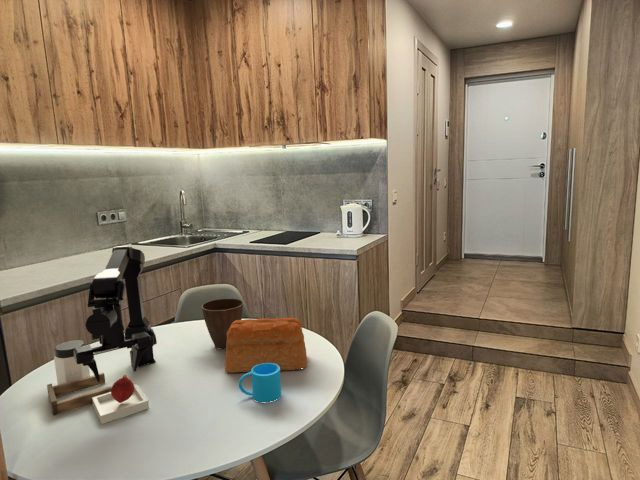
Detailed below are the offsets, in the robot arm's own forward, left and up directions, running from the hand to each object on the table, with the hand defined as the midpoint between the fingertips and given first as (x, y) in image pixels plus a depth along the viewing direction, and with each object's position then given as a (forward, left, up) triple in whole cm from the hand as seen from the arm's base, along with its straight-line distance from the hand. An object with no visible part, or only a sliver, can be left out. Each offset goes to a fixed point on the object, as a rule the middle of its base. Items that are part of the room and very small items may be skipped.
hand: (117, 376), depth 119 cm
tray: (0, 0, -9) cm, 9 cm away
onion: (0, 0, -8) cm, 8 cm away
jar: (+8, -26, -9) cm, 29 cm away
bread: (-45, +2, -9) cm, 46 cm away
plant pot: (-41, -21, -9) cm, 47 cm away
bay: (+8, -13, -9) cm, 18 cm away
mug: (-33, +20, -9) cm, 40 cm away
